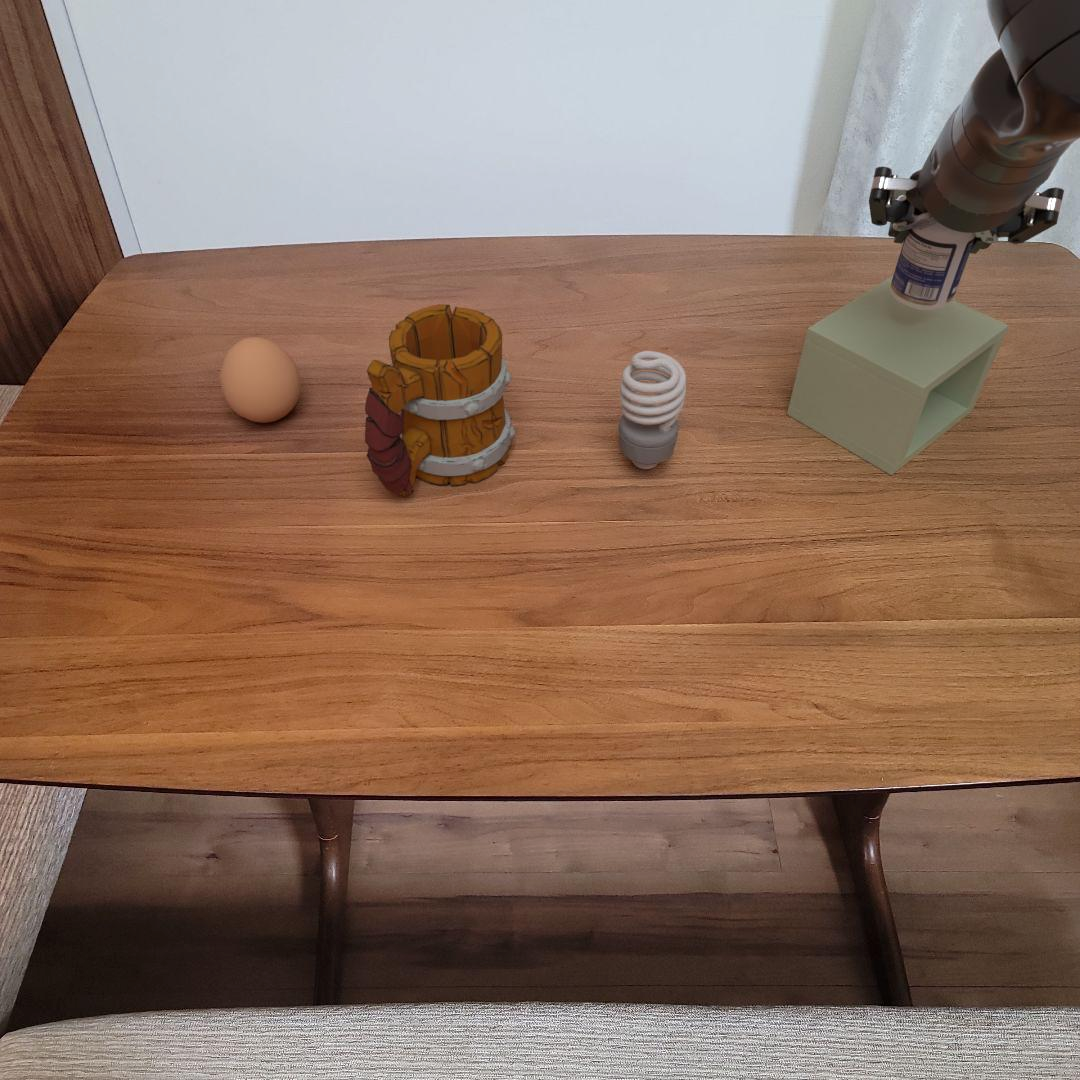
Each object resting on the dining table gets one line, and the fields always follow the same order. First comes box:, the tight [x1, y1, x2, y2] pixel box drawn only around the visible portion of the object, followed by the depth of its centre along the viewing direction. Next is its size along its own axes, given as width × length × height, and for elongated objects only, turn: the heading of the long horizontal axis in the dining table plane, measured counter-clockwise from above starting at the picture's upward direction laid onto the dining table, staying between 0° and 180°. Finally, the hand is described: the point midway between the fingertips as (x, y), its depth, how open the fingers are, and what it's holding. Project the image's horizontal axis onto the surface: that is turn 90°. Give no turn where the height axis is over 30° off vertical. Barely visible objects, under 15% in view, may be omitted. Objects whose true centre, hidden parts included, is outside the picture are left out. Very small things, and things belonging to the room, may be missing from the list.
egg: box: [219, 336, 302, 424], centre depth 88 cm, size 7×7×8 cm
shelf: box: [786, 275, 1009, 476], centre depth 88 cm, size 12×14×10 cm
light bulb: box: [618, 350, 687, 470], centre depth 82 cm, size 6×6×12 cm
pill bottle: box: [890, 223, 976, 311], centre depth 78 cm, size 5×5×10 cm
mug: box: [364, 303, 516, 497], centre depth 81 cm, size 11×16×15 cm, turn 147°
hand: (936, 236), depth 79 cm, fingers closed on pill bottle, 5 cm apart
